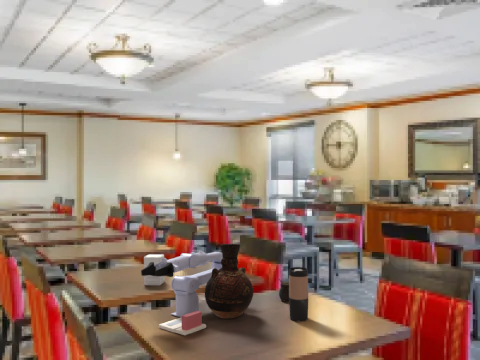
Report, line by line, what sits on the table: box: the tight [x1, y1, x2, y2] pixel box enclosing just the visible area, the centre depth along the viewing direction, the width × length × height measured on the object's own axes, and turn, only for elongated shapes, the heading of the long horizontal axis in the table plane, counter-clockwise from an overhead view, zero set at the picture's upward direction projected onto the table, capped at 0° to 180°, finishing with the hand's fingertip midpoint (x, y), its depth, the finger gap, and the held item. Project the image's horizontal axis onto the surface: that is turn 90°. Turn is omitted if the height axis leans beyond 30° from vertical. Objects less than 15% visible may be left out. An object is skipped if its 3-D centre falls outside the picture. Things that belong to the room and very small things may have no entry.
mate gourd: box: [278, 278, 289, 303], centre depth 214 cm, size 7×8×10 cm
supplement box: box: [143, 254, 166, 286], centre depth 249 cm, size 9×9×15 cm
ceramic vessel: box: [204, 243, 254, 320], centre depth 191 cm, size 21×18×30 cm
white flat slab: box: [158, 317, 182, 333], centre depth 178 cm, size 11×9×1 cm
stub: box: [175, 310, 207, 336], centre depth 174 cm, size 11×5×6 cm, turn 140°
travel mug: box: [288, 266, 309, 322], centre depth 187 cm, size 8×8×20 cm
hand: (148, 273), depth 177 cm, fingers open, 7 cm apart
